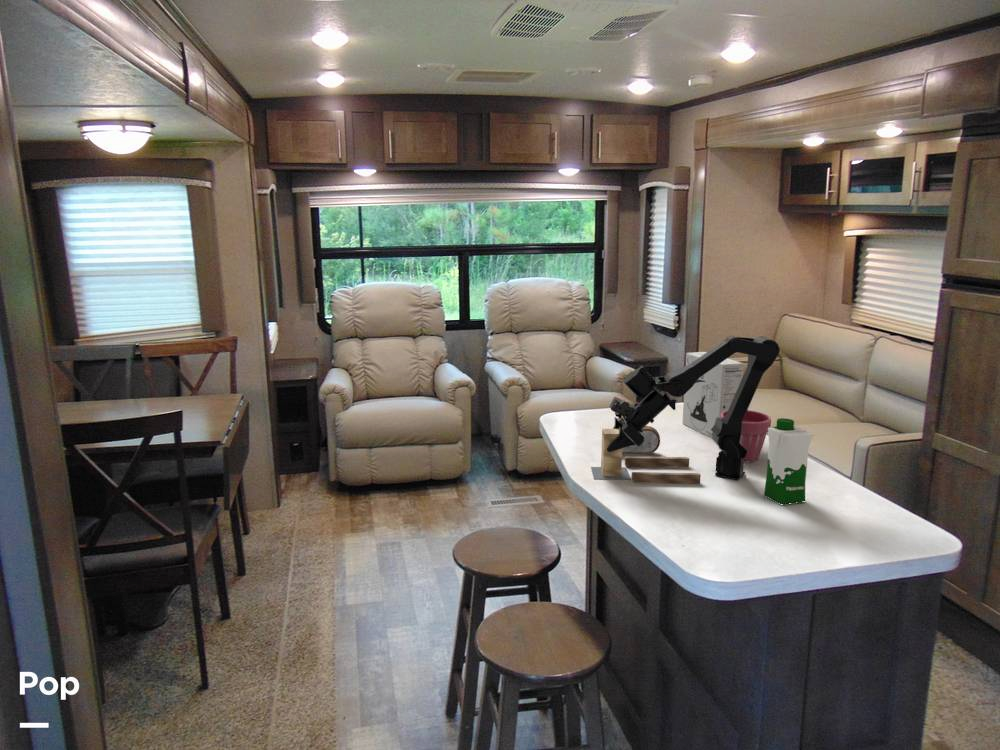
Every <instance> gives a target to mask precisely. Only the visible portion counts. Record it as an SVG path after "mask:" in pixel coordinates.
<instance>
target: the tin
mask: <svg viewBox="0 0 1000 750" xmlns="http://www.w3.org/2000/svg"><path fill="white" fill-rule="evenodd" d="M642 430H643V432H642V434H643V436H644V442H643V443H642V444H641V445H640V446H637V445H632V446H628V447H624V448H622V454H633V455H634V454H635V455H636V454H637V455H651V454H653V453H655V452H656V451H657V450H659V449H658V448H659V447H660V445H661V438H660V437H661V436H660V434H659V431H658V430H657V429H656V428H654V427H652V426H650V425H649V426H648V425H646V426H645V427H644V428H643V429H642Z"/></svg>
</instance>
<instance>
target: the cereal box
mask: <svg viewBox="0 0 1000 750" xmlns="http://www.w3.org/2000/svg"><path fill="white" fill-rule="evenodd" d="M707 352H708V351H707ZM707 352H706V351H697V352H696V351H695V352H693V351H692V352H686V354H685V366H687V365H689V364H691V363H692V362H694V361H695V360H697V359H698V358H700V357H701V356H702V355H704V354H705V353H707ZM743 375H744V362H740V361H738V360H734V359H729V358H727V359H726V360H724V361H723V362H721V363H720V364H718V365H717V366H715V367H714V368H713V369H711V370H710V371H708V372H707V373H705V374H704V375H703V376H701V377H700V378H699V379H698V380H697V381H696V383H695V384H694V385H693V387H692V388H691V389H690V390H689V391H687V392H686V393H685V394H684V395H683V405H682V406H683V408H682V424H683V425H684V426H686V427H688V428H690V429H692V430H695V431H696V430H697V432H698V431H699V433H700V434H702V433H703V434H702V435H705V436H707V437H708V438H711V439H713V438H712V432H713V431H712V430H711V429H712V428H713V426H714V425H715V421H716V418H717V417H718V418H720V419H721V414H722V413H723V412H724V411H728V410H729V407H730V405H731V403H732V400H733V398H734V396H735V394H736V391H737V389H738V387H739V384H740V382H741V380H742V378H743Z"/></svg>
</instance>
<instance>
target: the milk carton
mask: <svg viewBox="0 0 1000 750" xmlns="http://www.w3.org/2000/svg"><path fill="white" fill-rule="evenodd" d="M767 434H768V435H767V436H768V454H767V455H768V456H767V463H766V464H767V466H766V467H767V468H766V478H765V487H764V492H763V496H764V495H765V496H764V497H766V496H767V497H766V498H768V497H769V498H768V499H770V498H771V499H772V500H771V499H770V500H771V501H773V500H774V501H773V502H775V501H776V502H775V503H777V502H778V503H780V504H788V505H790V504H789V503H796V502H802V501H805V502H806V480H807V479H806V477H807V468H808V459H809V449H810V446H811V442H812V440H813V437H814V435H815V434H814V433H812V432H809V431H807V430H806V429H803V428H800V427H797V426H796V425H795V420H793V419H790V418H785V417H783V418H781V417H780V418H777V419H776V426H772V427H771V428H768V432H767ZM778 503H777V504H778ZM780 504H779V505H780Z"/></svg>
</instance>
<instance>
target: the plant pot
mask: <svg viewBox="0 0 1000 750" xmlns="http://www.w3.org/2000/svg"><path fill="white" fill-rule="evenodd" d="M727 412H728V411H724V412H723V413H722V414H721V419H722V418H723V417H724V416H725V415H726V414H727ZM771 424H772V418H771V416H769V415H768V414H766V413H763V412H760V411H756V410H750V409H749V410H747V412H746V414H745V416H744V419H743V421H742V434H741V438H740V442H739V443H740V444H741V445H742V446H743V447H744V448H745V449H746V450H747V454H746V456H745V458H744V463H745V462H746V463H747V462H748V463H749V462H750V463H751V462H756V461H759V457H760V455H761V453H762V450H763V447H764V446H763V445H764V444H765V440H766V437H767V434H768V428H771V426H772V425H771Z"/></svg>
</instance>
